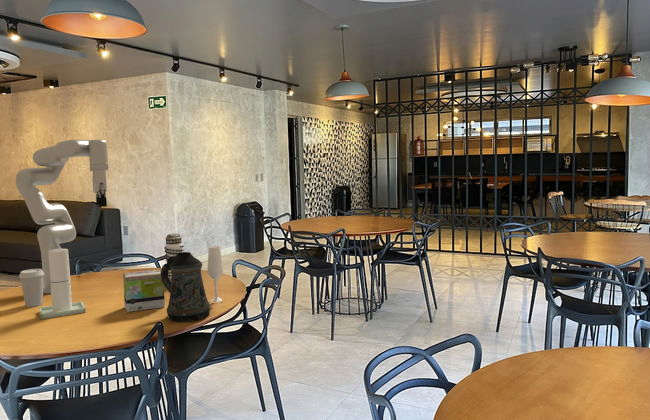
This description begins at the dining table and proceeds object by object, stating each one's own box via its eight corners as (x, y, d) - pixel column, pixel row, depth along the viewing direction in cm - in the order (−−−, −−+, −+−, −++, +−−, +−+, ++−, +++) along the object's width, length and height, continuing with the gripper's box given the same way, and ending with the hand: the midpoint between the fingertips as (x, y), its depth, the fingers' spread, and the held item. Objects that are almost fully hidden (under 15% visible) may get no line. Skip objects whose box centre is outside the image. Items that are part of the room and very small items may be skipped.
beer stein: (207, 321, 188) (204, 256, 186) (154, 324, 187) (150, 258, 184) (213, 308, 205) (210, 248, 202) (164, 311, 203) (161, 250, 201)
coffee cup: (35, 308, 210) (32, 273, 208) (15, 307, 212) (12, 273, 210) (51, 302, 219) (49, 268, 218) (33, 301, 221) (30, 268, 220)
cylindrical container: (48, 312, 203) (44, 251, 200) (63, 307, 209) (59, 248, 207) (61, 313, 200) (57, 252, 197) (76, 308, 206) (72, 249, 204)
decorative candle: (177, 280, 254) (175, 232, 252) (189, 283, 249) (187, 233, 246) (162, 284, 247) (159, 234, 244) (174, 287, 242) (171, 236, 239)
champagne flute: (220, 304, 211) (218, 248, 209) (206, 303, 213) (203, 247, 210) (227, 299, 218) (224, 245, 216) (212, 299, 219) (210, 245, 217)
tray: (39, 311, 205) (39, 307, 205) (82, 305, 213) (82, 301, 213) (40, 319, 195) (40, 314, 195) (85, 312, 203) (85, 308, 203)
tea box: (127, 313, 201) (124, 277, 200) (124, 307, 210) (122, 272, 209) (165, 307, 208) (163, 272, 207) (161, 301, 217) (159, 268, 215)
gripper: (87, 167, 228) (90, 205, 230) (91, 167, 213) (94, 207, 215) (105, 167, 232) (108, 204, 234) (110, 167, 217) (113, 206, 219)
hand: (101, 205), depth 224 cm, fingers open, 9 cm apart
